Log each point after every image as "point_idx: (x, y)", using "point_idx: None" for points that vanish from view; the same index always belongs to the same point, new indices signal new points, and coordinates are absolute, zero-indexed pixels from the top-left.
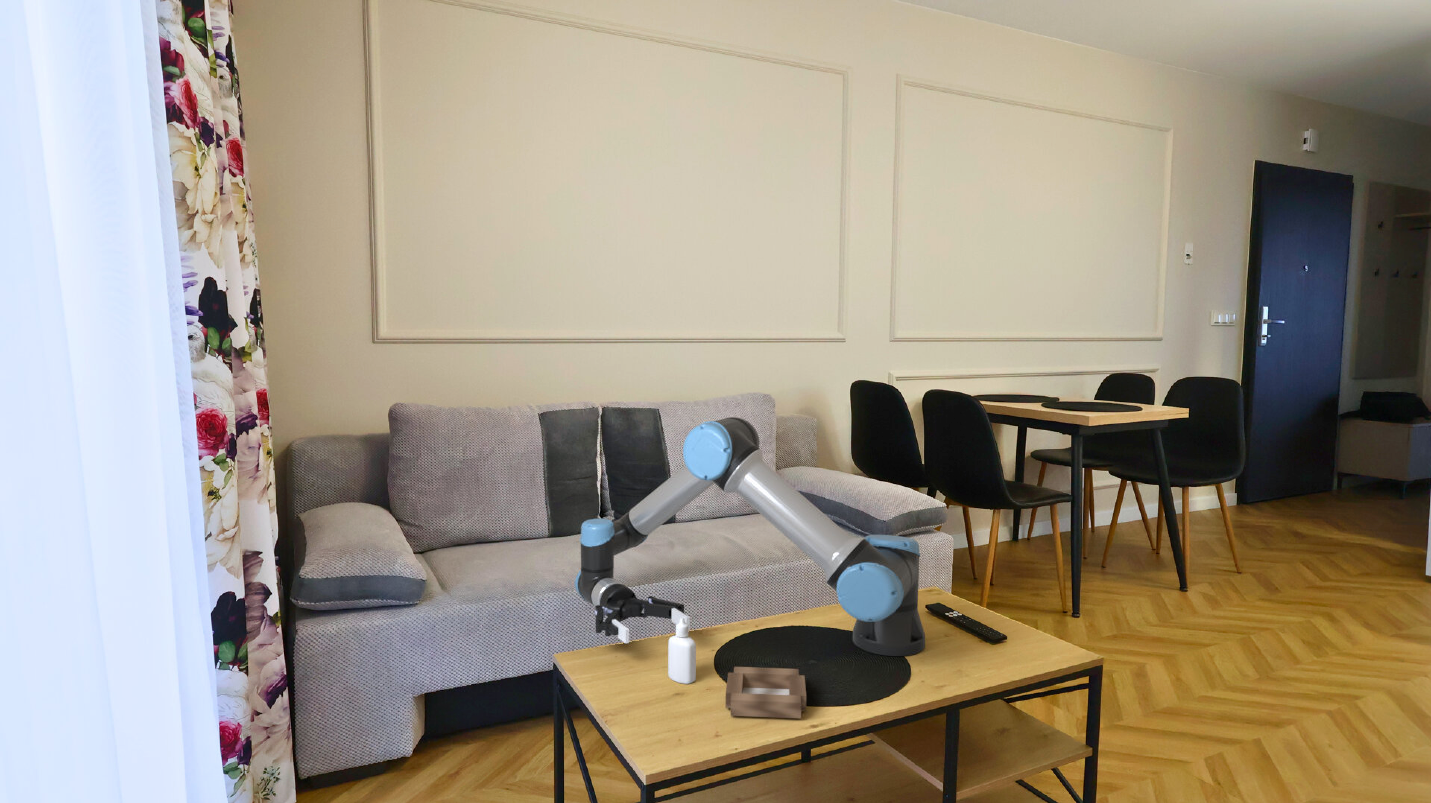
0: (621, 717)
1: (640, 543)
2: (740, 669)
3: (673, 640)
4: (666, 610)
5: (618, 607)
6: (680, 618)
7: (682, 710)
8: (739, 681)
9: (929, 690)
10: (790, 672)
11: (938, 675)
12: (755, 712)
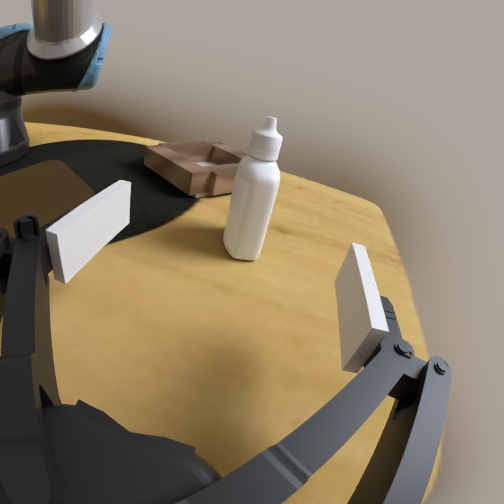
0: (380, 248)
1: None
2: (195, 169)
3: (279, 172)
4: (41, 275)
5: (275, 457)
6: (276, 119)
7: (304, 214)
8: (228, 165)
9: (95, 134)
10: (160, 148)
11: (62, 135)
12: None
